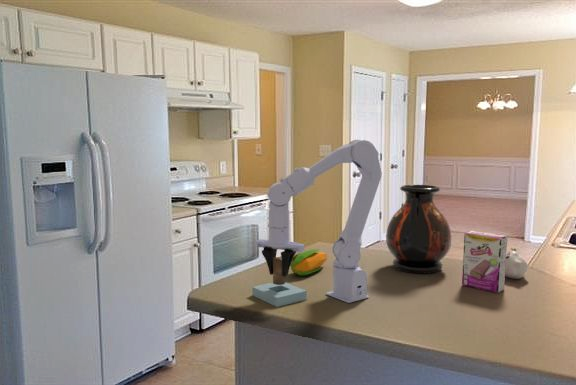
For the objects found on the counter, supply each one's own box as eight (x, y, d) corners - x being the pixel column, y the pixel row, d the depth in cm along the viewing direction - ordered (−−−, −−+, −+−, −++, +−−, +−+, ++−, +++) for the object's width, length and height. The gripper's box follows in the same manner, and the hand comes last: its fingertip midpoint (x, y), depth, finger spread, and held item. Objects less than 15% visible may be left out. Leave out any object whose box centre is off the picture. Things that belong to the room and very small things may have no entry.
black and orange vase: (394, 257, 187) (396, 182, 184) (454, 264, 178) (458, 185, 175) (377, 271, 168) (379, 188, 165) (444, 280, 159) (448, 191, 155)
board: (306, 299, 140) (306, 290, 140) (277, 307, 134) (277, 297, 134) (280, 288, 150) (280, 280, 150) (252, 295, 144) (252, 286, 144)
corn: (284, 253, 161) (316, 242, 178) (283, 276, 163) (315, 263, 179) (304, 258, 157) (335, 246, 174) (302, 281, 158) (333, 267, 175)
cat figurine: (507, 242, 170) (515, 247, 155) (529, 256, 168) (539, 262, 153) (490, 265, 171) (496, 272, 156) (512, 279, 169) (520, 288, 155)
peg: (287, 282, 142) (287, 257, 142) (282, 285, 139) (282, 260, 139) (276, 280, 144) (276, 256, 143) (270, 283, 141) (270, 259, 140)
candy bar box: (461, 285, 153) (463, 232, 151) (468, 282, 157) (470, 230, 155) (498, 293, 146) (501, 237, 144) (505, 290, 149) (508, 235, 147)
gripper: (308, 226, 140) (308, 274, 142) (262, 222, 146) (262, 268, 148) (298, 230, 134) (298, 280, 136) (250, 226, 140) (250, 274, 142)
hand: (278, 274), depth 141 cm, fingers closed on peg, 3 cm apart
